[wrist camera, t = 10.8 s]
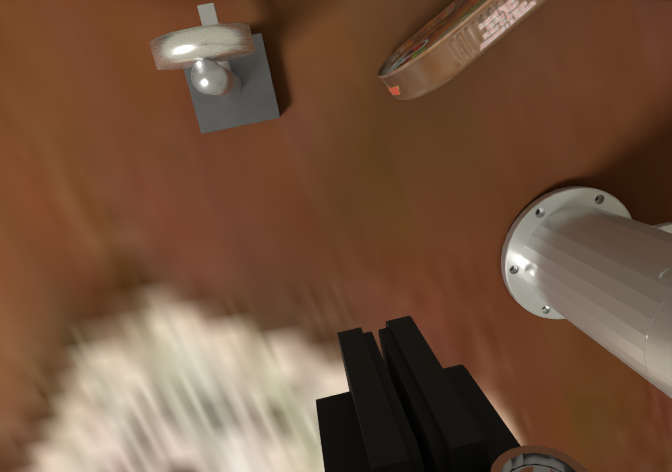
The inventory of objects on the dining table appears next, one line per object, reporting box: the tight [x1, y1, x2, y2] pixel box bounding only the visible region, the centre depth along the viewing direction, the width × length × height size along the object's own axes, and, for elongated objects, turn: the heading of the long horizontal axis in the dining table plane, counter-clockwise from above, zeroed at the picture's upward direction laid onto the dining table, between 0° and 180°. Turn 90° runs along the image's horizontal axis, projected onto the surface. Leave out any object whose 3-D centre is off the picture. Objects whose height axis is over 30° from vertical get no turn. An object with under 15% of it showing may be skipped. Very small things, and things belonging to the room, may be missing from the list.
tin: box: [377, 0, 548, 100], centre depth 32 cm, size 15×3×8 cm, turn 128°
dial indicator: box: [149, 3, 280, 133], centre depth 28 cm, size 6×8×14 cm
